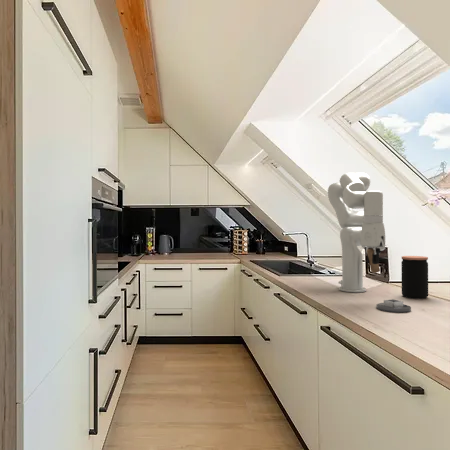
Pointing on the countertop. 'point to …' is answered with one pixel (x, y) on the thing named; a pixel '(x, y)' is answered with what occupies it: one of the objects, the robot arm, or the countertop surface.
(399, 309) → the round metal socket base
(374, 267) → the tan wooden beam
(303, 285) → the countertop surface
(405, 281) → the coffee jar
